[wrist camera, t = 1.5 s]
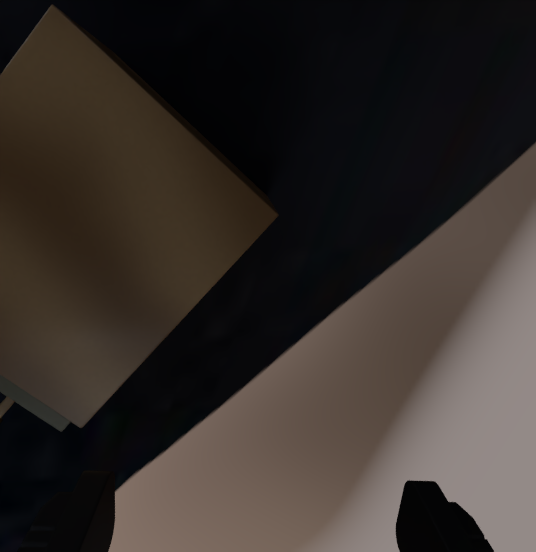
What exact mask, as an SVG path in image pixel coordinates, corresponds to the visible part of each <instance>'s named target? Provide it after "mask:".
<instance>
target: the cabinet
mask: <svg viewBox="0 0 536 552" xmlns="http://www.w3.org/2000/svg"><path fill="white" fill-rule="evenodd" d="M277 217H278V213H277V211H276V210H275V208H274V206H273V205H272V203H271V202H270V200H269V198H268V197H267V195H266V194H265V193H264V192H262V191H261V190H260V189H259V188H258V187H257V186H256V185H255V184H254V183H253V182H252V181H251V180H250V179H249V178H247V177H246V176H245V175H244V174H243V173H242V172H241V171H240V170H239V169H238V168H237V167H236V166H235V165H234V164H233V163H231V162H230V161H229V160H228V159H227V158H226V157H225V156H224V155H223V154H222V153H221V152H220V151H219V150H218V149H217V148H215V147H214V146H213V145H212V144H211V143H210V142H209V141H208V140H207V139H206V138H205V137H204V136H203V135H202V134H200V133H199V132H198V131H197V130H196V129H195V128H194V127H193V126H192V125H191V124H190V123H189V122H188V121H187V120H186V119H184V118H183V117H182V116H181V115H180V114H179V113H178V112H177V111H176V110H175V109H174V108H173V107H172V106H171V105H169V104H168V103H167V102H166V101H165V100H164V99H163V98H162V97H161V96H160V95H159V94H158V93H157V92H156V91H155V90H153V89H152V88H151V87H150V86H149V85H148V84H147V83H146V82H145V81H144V80H143V79H142V78H141V77H140V76H138V75H137V74H136V73H135V72H134V71H133V70H132V69H131V68H130V67H129V66H128V65H127V64H126V63H125V62H124V61H122V60H121V59H120V58H119V57H118V56H117V55H116V54H115V53H114V52H113V51H111V50H110V49H109V48H107V47H106V46H105V45H104V44H102V43H101V42H100V41H99V40H97V39H96V38H95V37H94V36H92V35H91V34H90V33H88V32H87V31H86V30H85V29H83V28H82V27H81V26H80V25H78V24H77V23H76V22H74V21H73V20H72V19H71V18H69V17H68V16H67V15H66V14H64V13H63V12H62V11H60V10H59V9H58V8H57V7H55V6H54V5H51V6H50V8H49V9H48V10H47V12H46V13H45V14H44V16H43V17H42V19H41V20H40V21H39V23H38V24H37V25H36V27H35V28H34V30H33V31H32V32H31V34H30V35H29V36H28V38H27V39H26V41H25V42H24V43H23V45H22V46H21V47H20V49H19V50H18V51H17V53H16V54H15V56H14V57H13V58H12V60H11V61H10V62H9V64H8V65H7V67H6V68H5V69H4V71H3V72H2V73H1V75H0V375H2V376H3V377H5V378H6V379H8V380H9V381H11V382H12V383H14V384H15V385H17V386H18V387H20V388H21V389H23V390H24V391H26V392H27V393H29V394H30V395H32V396H33V397H35V398H36V399H38V400H39V401H41V402H42V403H44V404H45V405H47V406H48V407H50V408H51V409H53V410H54V411H56V412H57V413H59V414H60V415H62V416H63V417H65V418H66V419H68V420H69V421H71V422H72V423H74V424H75V425H77V426H78V427H80V428H82V427H83V426H84V425H85V424H86V423H87V422H88V421H89V420H90V419H91V418H92V417H93V415H94V414H95V413H96V412H97V411H98V410H99V409H100V408H101V407H102V406H103V405H104V404H105V403H106V401H107V400H108V399H109V398H110V397H111V396H112V395H113V394H114V393H115V392H116V391H117V390H118V388H119V387H120V386H121V385H122V384H123V383H124V382H125V381H126V380H127V379H128V378H129V377H130V375H131V374H132V373H133V372H134V371H135V370H136V369H137V368H138V367H139V366H140V365H141V364H142V363H143V361H144V360H145V359H146V358H147V357H148V356H149V355H150V354H151V353H152V352H153V351H154V350H155V348H156V347H157V346H158V345H159V344H160V343H161V342H162V341H163V340H164V339H165V338H166V337H167V336H168V334H169V333H170V332H171V331H172V330H173V329H174V328H175V327H176V326H177V325H178V324H179V323H180V321H181V320H182V319H183V318H184V317H185V316H186V315H187V314H188V313H189V312H190V311H191V310H192V308H193V307H194V306H195V305H196V304H197V303H198V302H199V301H200V300H201V299H202V298H203V297H204V296H205V294H206V293H207V292H208V291H209V290H210V289H211V288H212V287H213V286H214V285H215V284H216V283H217V281H218V280H219V279H220V278H221V277H222V276H223V275H224V274H225V273H226V272H227V271H228V270H229V268H230V267H231V266H232V265H233V264H234V263H235V262H236V261H237V260H238V259H239V258H240V257H241V256H242V254H243V253H244V252H245V251H246V250H247V249H248V248H249V247H250V246H251V245H252V244H253V243H254V241H255V240H256V239H257V238H258V237H259V236H260V235H261V234H262V233H263V232H264V231H265V230H266V228H267V227H268V226H269V225H270V224H271V223H272V222H273V221H274V220H275V219H276V218H277Z"/></svg>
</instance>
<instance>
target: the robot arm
mask: <svg viewBox="0 0 536 552" xmlns="http://www.w3.org/2000/svg"><path fill="white" fill-rule="evenodd" d="M114 522H115V477H114V472H113V471H84V472H83V473H82V474H81V476H80V478H79V480H78V482H77V484H76V486H75V488H74V490H73V492H58V493H57V494H56V495H55V496H54V497H53V498H51V499H50V500H49V501H48V502H47V503H46V504H45V505H44V506H43V507H42V508H41V509H40V511H39V513H38V515H37V516H36V518H35V520H34V522H33V524H32V525H31V527H30V531H28V533H27V534H26V536H25V538H24V540H23V542H22V545H21V547H19V549H18V551H17V552H108V550H109V547H110V544H111V540H112V535H113V530H114ZM396 538H397V544H398V548H399V550H400V552H494V550H493V549H492V547H491V546H490V544H489V543H488V541H487V540H486V539H485V538H484V535H483V533H482V531H481V530H480V528H479V527H478V525H477V524H476V522H475V520H474V519H473V518H472V517H471V516H470V515H469V514H468V513H467V512H466V511H465V510H464V509H463V508H461V507H460V506H459V505H458V504H457V503H456V502H448V501H447V499H446V497H445V496H444V494H443V492H442V491H441V489H440V487H439V486H438V484H437V483H436V482H434V481H407V482H406V483H405V486H404V490H403V495H402V499H401V504H400V508H399V513H398V517H397V522H396Z"/></svg>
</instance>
